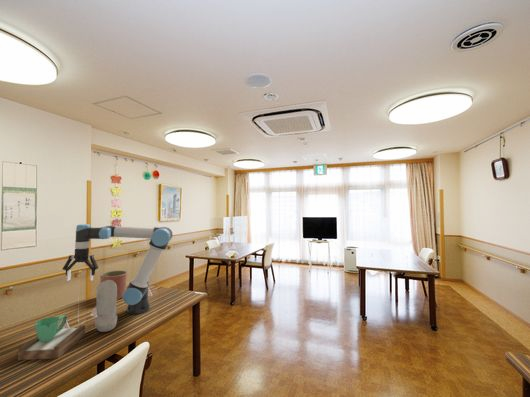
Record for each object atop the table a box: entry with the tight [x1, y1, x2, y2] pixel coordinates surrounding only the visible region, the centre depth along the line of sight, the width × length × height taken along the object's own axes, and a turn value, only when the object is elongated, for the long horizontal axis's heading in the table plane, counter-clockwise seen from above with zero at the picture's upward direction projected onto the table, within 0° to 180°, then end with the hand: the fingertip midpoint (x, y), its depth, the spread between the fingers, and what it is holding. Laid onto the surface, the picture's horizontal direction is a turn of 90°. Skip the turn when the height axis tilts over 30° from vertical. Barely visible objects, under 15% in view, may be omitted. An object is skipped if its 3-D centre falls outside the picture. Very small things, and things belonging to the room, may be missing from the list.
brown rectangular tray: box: [17, 325, 86, 361], centre depth 130 cm, size 18×22×6 cm
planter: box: [99, 269, 128, 301], centre depth 200 cm, size 19×19×20 cm
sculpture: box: [94, 280, 118, 333], centre depth 150 cm, size 15×12×30 cm
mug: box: [34, 314, 68, 343], centre depth 131 cm, size 15×10×10 cm
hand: (80, 280), depth 159 cm, fingers open, 13 cm apart
